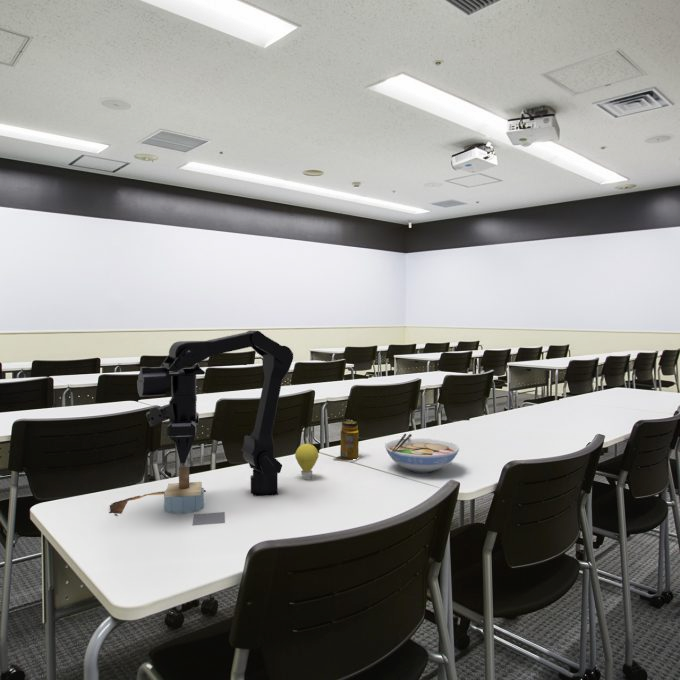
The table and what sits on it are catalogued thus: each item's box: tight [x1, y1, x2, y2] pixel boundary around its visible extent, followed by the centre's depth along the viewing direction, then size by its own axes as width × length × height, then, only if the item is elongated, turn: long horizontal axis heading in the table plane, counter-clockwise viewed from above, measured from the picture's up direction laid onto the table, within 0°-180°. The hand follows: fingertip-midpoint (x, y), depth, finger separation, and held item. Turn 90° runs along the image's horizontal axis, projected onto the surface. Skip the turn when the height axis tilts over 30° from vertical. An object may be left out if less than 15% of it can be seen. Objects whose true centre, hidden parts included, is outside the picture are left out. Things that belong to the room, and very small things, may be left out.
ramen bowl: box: [384, 433, 460, 474], centre depth 167 cm, size 25×23×8 cm
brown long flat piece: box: [108, 489, 207, 517], centre depth 137 cm, size 25×10×1 cm, turn 130°
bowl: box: [163, 487, 205, 515], centre depth 131 cm, size 9×9×4 cm
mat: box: [191, 511, 226, 526], centre depth 123 cm, size 7×7×1 cm
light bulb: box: [294, 443, 319, 480], centre depth 157 cm, size 7×7×10 cm
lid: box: [165, 465, 203, 497], centre depth 131 cm, size 8×8×6 cm
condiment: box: [333, 420, 363, 463], centre depth 180 cm, size 7×8×12 cm
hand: (184, 458), depth 130 cm, fingers open, 9 cm apart
